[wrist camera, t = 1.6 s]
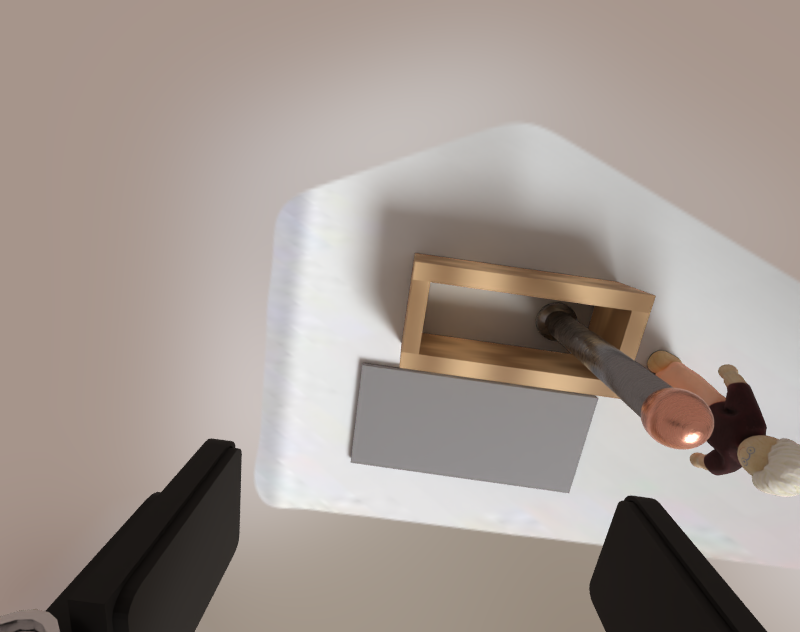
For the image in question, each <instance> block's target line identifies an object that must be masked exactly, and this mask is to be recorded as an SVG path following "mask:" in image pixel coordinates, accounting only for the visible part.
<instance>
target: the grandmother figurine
mask: <svg viewBox="0 0 800 632" xmlns="http://www.w3.org/2000/svg"><path fill="white" fill-rule="evenodd" d="M647 365H648V368H649V370H650V371H651V372H653V373H656V376H658V377H659V378H660V379H662V380H663V381H665V382H666V383H668V384H669V385H670V386H672V387H673V388H680V389H685V390H688V391H690V392H692V393H694V394H696V395H698V396H699V397H700V398H702V399H703V400H704V401H705V402H706V403H707V405H708V406H709V408H710V409H711V411H712V414H713V417H714V429H713V432H712V434H711V436H710V438H709V439H708V440H707V442H708V443H709V444H710V445H711V446H712V447H713V448H714V450H712V451H711V452H710V453H708V454H707V455H704V454H702V453H693V454H692V455H691V456H690V462H691V463H692V465H694V466H695V467H698V468H703V469H705V470H708V471H710V472H711V473H712V474H714V475H723V474H728V473H732V472H735V471H737V470H739V469H740V468H741V467H743V468H744V469H745V470H746V471H747V472H748V473H749V474H750V475H752V482H753V484H754V486H755V487H756V488H757V489H759V490H760V491H762V492H764V493H768V494H773V495H776V496H781V497H791V496H795V495H800V445H799V444H797V443H795V442H794V441H792V440H789V439H785V438H782V439H780V440H779V439H776V438H774V437H770V436H766V429H767V427H766V424H765V421H764V418H763V416H762V413H761V411H760V408H759V406H758V403H757V401H756V399H755V396H754V394H753V392H752V389H751V387H750V386H749V385H748V384H747V383H746V382H745V380H744V379H743V377H742V376H741V375H739V374H738V370H737V369H736V368H735V367H734V366H732V365H729V364H728V365H723V366H721V367H720V368H719V370H718V373H719V375H720V376H721V377H722V378H723V379H724V383H725V385H726V387H727V396H726V398H725V397H724V396H722V395H721V394H720V393H719V392H718V391H717V390H716V389H715V388H714V387H713V386H711V385H710V384H709V383H708V382H707V381H706V380H705V379H704V378H702V377H701V376H700V375H699V374H697V373H696V372H694V371H693V370H691V369H689V368H688V367H686V366H685V365H684V364H682V362H681V360H680V359H678V358H677V357H675V356H673V355H671V354H670V353H668V352H665V351H657V352H655V353H653V354H652V355H651V357H650V358H649V360H648V363H647Z"/></svg>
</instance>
